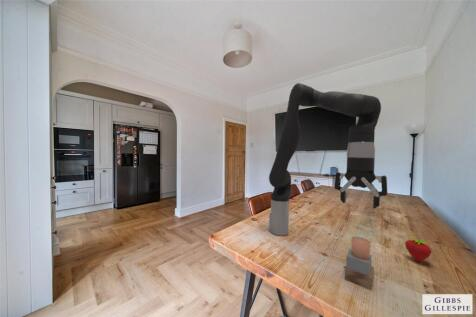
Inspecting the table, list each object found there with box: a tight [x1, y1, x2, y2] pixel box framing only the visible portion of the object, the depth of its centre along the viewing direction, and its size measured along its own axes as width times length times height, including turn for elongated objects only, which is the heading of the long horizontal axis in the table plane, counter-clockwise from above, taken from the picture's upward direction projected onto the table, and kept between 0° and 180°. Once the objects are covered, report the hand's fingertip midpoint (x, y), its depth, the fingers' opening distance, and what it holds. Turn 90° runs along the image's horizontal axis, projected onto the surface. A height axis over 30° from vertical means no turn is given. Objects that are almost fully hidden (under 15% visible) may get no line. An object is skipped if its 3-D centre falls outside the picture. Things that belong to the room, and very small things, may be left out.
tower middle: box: [345, 248, 372, 276], centre depth 58 cm, size 6×6×4 cm
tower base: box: [344, 265, 375, 291], centre depth 58 cm, size 7×7×4 cm
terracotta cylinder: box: [350, 236, 371, 260], centre depth 58 cm, size 5×5×5 cm
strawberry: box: [404, 237, 432, 263], centre depth 68 cm, size 6×8×10 cm
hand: (358, 205), depth 59 cm, fingers open, 8 cm apart
